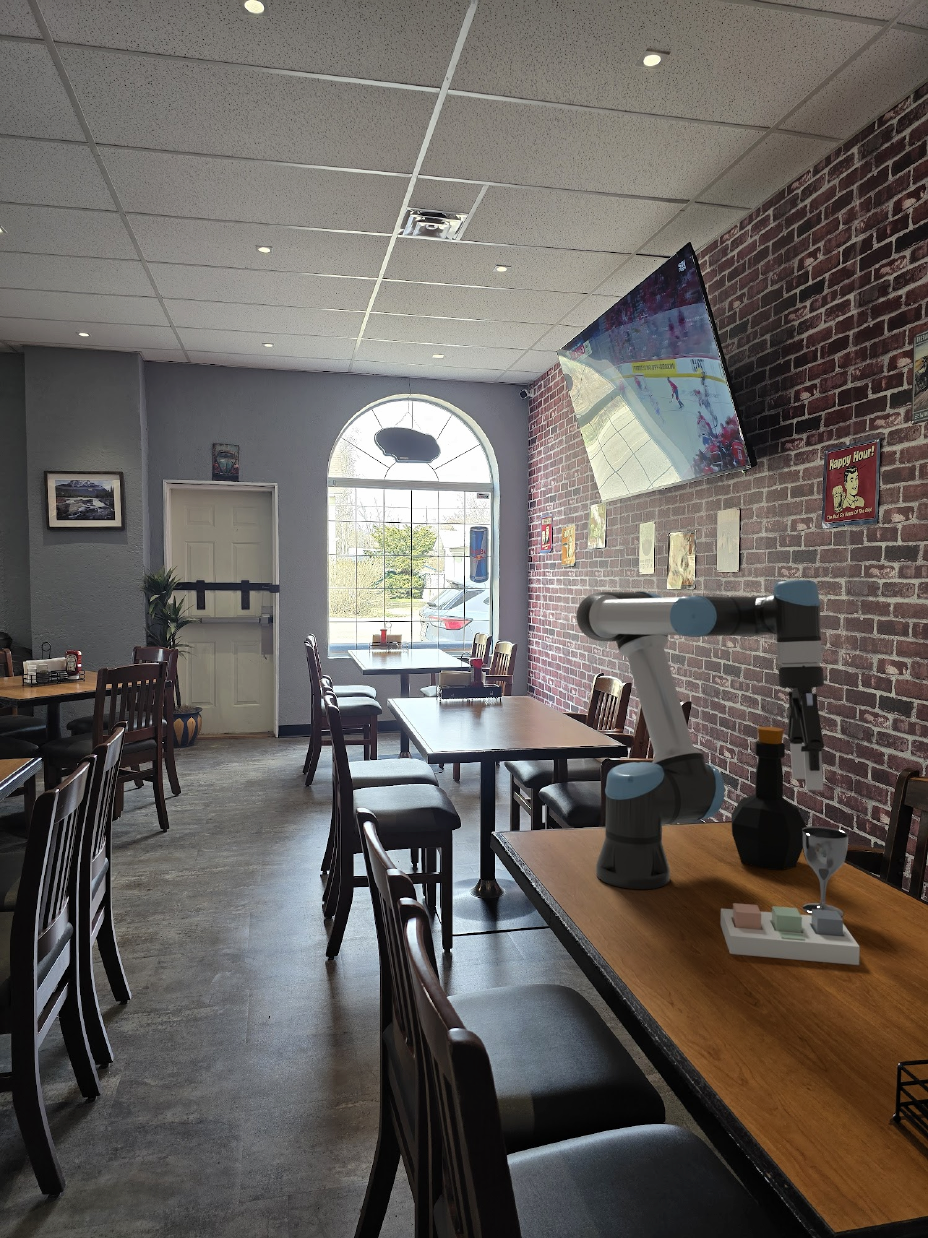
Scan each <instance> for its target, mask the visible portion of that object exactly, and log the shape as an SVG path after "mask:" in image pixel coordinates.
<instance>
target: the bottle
mask: <svg viewBox="0 0 928 1238" xmlns="http://www.w3.org/2000/svg"><path fill="white" fill-rule="evenodd" d="M756 728H757V737H758V740H756V741H755V743H754V748H755V749H754V754H755V756H756V757H758V758H757V764H756V767H755V774H754V775H755V780H754V781H755V782H754V794H751V795H748V796H746V797H744V798H740V801H739V802H738V803H737V805H736V806H735V808H734V809H733V811H732V812H731V815H730V816H731V818H730V819H731V835H732V837H733V838H732V839H733V841H734V844H735V847H736V850H737V854H738V857H739V860H740V862H743V863H745V864H747V865H749V866H752V867H755V868H757V869H763V870H764V869H765V870H781V871H783V870H788V869H791V868H792V869H793V868H796V867H797V863H798V862H799V859H800V857H801V854H802V851H803V847H802V829H803V828H805V827H808V826H807V825H806V821H804V819H803V816H802V815H801V812H800V811H799V809H798V807H797V806H796V805H794V804H793V803H792V802H790V800H787V799H786V798H784V773H783V772H784V771H783V764H782V759H783V758H785V755H786V744H785V743H784V742H783V736H784V729H783V728H780V727H775V726H757V727H756Z"/></svg>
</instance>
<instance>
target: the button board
mask: <svg viewBox="0 0 928 1238" xmlns="http://www.w3.org/2000/svg"><path fill="white" fill-rule="evenodd" d="M760 912H761V930H758V929H746V928H735V926H734V923H733V908H731V909H730V908H720V927H721V930H722V934H723V936H724V939H725V943H726V945H727V950H728V952H729V954H730V955H737V956H738V955H739V956H740V955H741V956H750V957H752V956H753V957H764V958H775V959H783V960H784V959H785V960H797V961H807V962H808V961H810V962H818V963H819V962H821V963H830V964H842V965H843V964H844V965H854V966H860V945H859V944H858V942H857V941H856V939H855V938H854V937H853V936H852V934H851V933H850V931H849V930H848V928H847V926H846V925H845V924H844V923H843V936H831V935H819V934H815V932H814V930H813V929H812V927H811V923H812V915H811V914H800V915H801V916H802V931H801V933H795V932H782V931H775V930H774V928H773V926H772V911H760Z"/></svg>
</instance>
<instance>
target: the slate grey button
mask: <svg viewBox="0 0 928 1238" xmlns="http://www.w3.org/2000/svg"><path fill="white" fill-rule="evenodd" d="M811 916H812V923H811V927H812V929H813V930H814V932H815V934H819V935H831V936H843V924H844V920H843V918H842V917H840V915H839V914H838V912H837V911H828V910H815V909H812V915H811Z"/></svg>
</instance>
